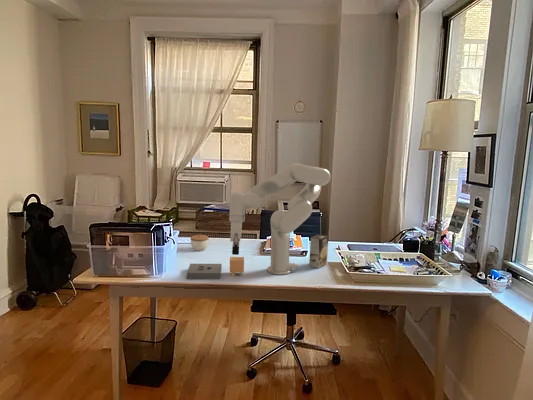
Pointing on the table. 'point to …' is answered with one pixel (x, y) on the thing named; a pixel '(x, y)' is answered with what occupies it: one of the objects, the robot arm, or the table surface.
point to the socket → (204, 271)
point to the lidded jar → (199, 242)
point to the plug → (236, 265)
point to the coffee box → (318, 251)
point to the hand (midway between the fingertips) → (235, 251)
